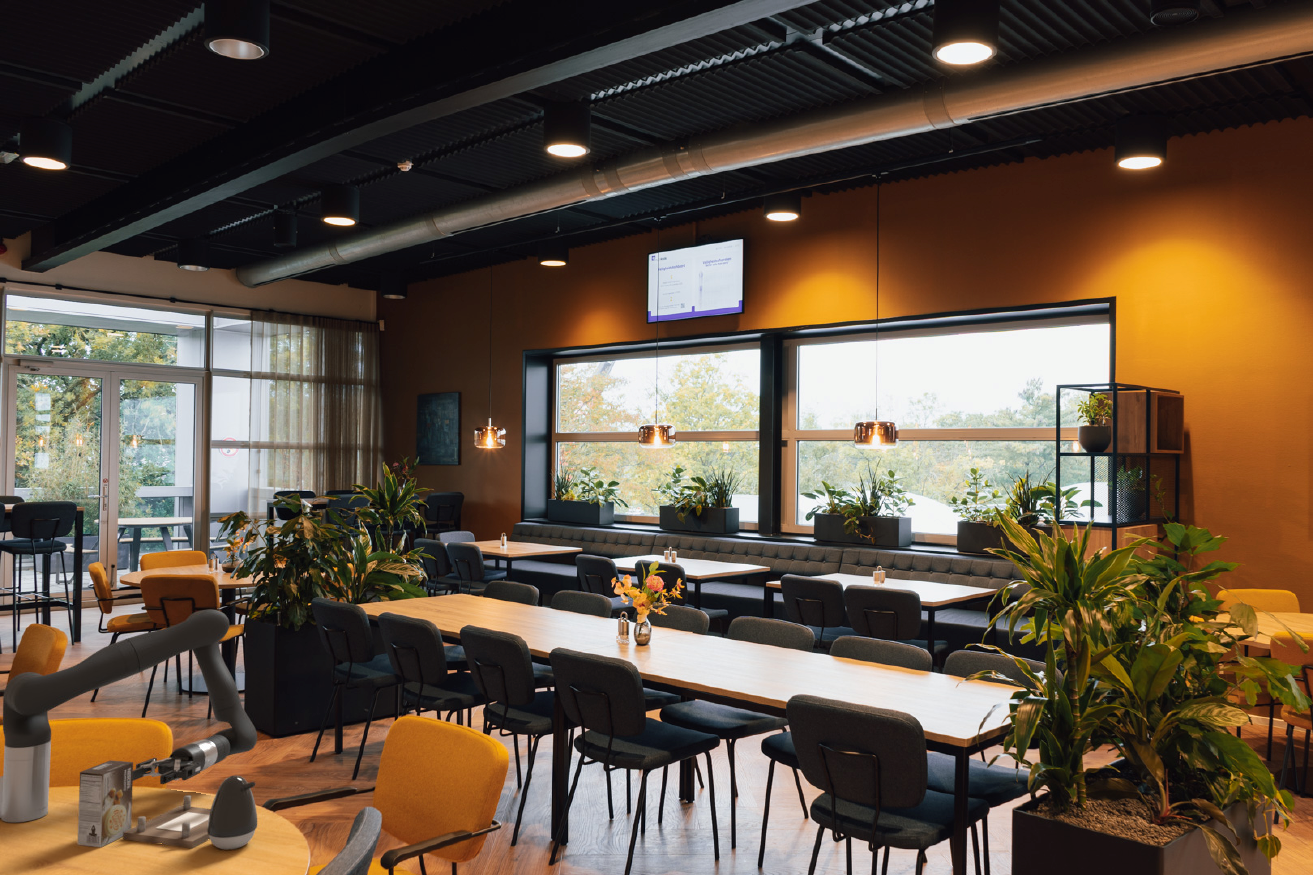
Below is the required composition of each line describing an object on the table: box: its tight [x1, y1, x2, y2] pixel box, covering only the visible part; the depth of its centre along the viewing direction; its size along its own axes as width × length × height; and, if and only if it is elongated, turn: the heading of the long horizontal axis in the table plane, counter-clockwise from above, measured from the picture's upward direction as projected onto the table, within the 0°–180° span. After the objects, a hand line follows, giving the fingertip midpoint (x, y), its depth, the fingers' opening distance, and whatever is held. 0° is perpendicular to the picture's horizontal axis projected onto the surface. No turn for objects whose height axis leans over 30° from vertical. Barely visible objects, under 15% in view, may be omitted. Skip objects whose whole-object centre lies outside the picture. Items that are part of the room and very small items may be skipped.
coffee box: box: [77, 759, 134, 848], centre depth 216 cm, size 9×6×16 cm
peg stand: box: [122, 794, 211, 849], centre depth 222 cm, size 18×18×4 cm
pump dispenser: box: [207, 775, 258, 851], centre depth 214 cm, size 10×10×15 cm
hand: (146, 778), depth 227 cm, fingers open, 8 cm apart
